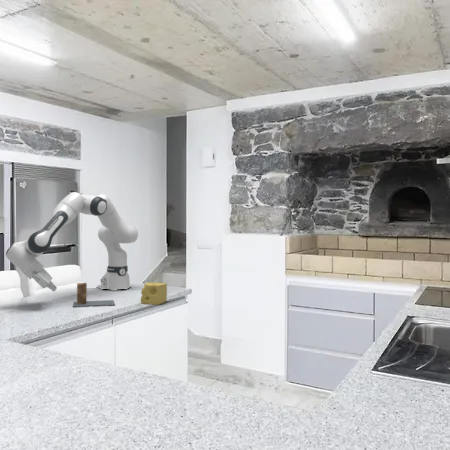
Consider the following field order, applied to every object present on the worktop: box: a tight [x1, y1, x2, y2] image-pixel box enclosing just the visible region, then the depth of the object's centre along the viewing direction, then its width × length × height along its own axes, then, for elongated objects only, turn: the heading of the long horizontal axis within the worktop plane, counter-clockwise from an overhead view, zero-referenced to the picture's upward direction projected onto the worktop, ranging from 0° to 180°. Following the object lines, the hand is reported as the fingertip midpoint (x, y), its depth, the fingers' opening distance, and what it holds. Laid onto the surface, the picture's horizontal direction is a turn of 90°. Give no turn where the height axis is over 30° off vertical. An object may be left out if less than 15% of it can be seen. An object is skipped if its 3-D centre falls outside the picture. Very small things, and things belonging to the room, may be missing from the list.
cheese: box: [140, 281, 168, 306], centre depth 240 cm, size 10×11×10 cm
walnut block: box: [76, 282, 88, 304], centre depth 231 cm, size 4×4×10 cm
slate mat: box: [72, 299, 116, 308], centre depth 233 cm, size 20×12×1 cm, turn 107°
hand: (55, 289), depth 227 cm, fingers open, 2 cm apart
